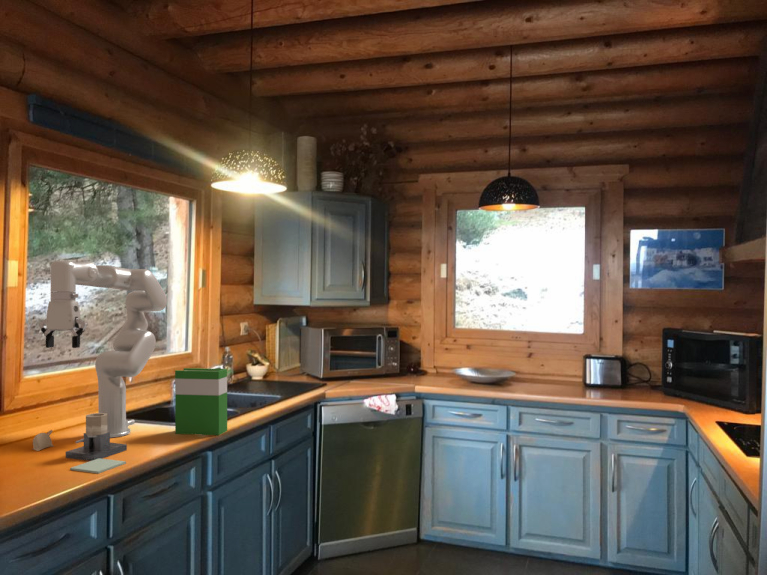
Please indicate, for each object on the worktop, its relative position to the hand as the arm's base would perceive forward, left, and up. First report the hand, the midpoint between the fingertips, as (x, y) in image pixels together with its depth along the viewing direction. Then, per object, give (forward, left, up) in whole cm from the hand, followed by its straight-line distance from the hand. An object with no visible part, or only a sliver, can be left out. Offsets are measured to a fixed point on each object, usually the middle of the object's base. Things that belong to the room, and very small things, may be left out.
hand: (62, 347), depth 203 cm
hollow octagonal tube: (-1, +14, -28) cm, 31 cm away
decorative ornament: (-1, -10, -36) cm, 37 cm away
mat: (+10, +26, -35) cm, 45 cm away
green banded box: (-38, +28, -36) cm, 59 cm away
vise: (-1, +14, -35) cm, 38 cm away
